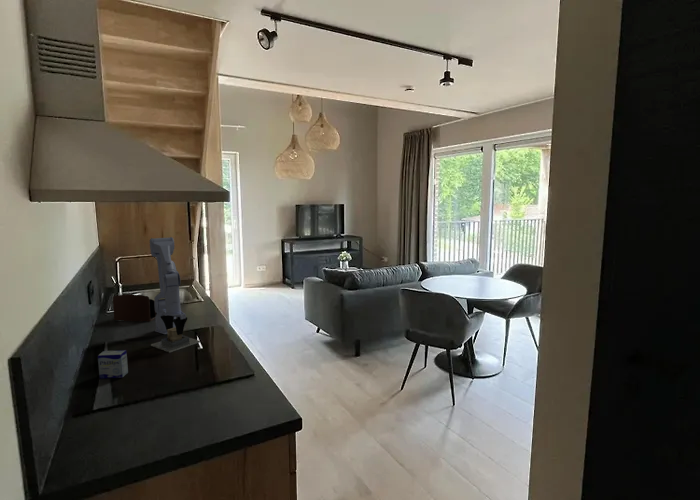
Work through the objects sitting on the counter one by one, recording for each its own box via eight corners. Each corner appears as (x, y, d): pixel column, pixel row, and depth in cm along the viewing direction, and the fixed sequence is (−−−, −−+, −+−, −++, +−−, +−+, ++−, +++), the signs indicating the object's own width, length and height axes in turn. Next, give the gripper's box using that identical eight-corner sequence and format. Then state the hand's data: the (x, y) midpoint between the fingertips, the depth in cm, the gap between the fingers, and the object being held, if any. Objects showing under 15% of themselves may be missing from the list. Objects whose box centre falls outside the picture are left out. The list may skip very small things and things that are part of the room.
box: (98, 379, 136) (96, 355, 135) (105, 373, 141) (103, 350, 140) (122, 378, 137) (120, 354, 136) (128, 372, 142) (126, 349, 141)
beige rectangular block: (168, 343, 169) (167, 329, 168) (176, 340, 172) (175, 327, 171) (173, 345, 167) (172, 331, 166) (182, 342, 170) (181, 328, 169)
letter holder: (150, 322, 202) (148, 295, 201) (113, 321, 204) (111, 294, 202) (161, 316, 212) (159, 290, 210) (126, 315, 214) (124, 290, 212)
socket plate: (150, 345, 168) (150, 339, 168) (181, 336, 179) (180, 330, 179) (169, 352, 160) (169, 346, 160) (200, 342, 171) (199, 336, 171)
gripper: (154, 301, 168) (156, 332, 170) (173, 306, 160) (175, 338, 162) (169, 297, 174) (171, 327, 176) (189, 302, 166) (191, 333, 167)
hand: (174, 332), depth 169 cm, fingers open, 7 cm apart
